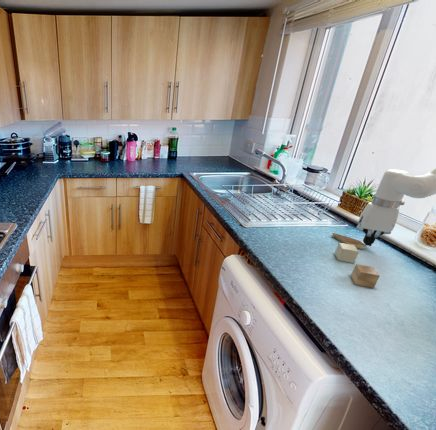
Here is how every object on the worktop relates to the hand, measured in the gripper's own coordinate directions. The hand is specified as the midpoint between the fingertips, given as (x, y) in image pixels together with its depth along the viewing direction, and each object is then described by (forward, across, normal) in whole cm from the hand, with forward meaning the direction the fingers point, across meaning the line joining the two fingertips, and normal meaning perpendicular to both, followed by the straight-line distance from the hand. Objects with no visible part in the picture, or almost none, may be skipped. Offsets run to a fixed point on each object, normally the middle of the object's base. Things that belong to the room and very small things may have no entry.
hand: (367, 244), depth 116 cm
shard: (+2, +7, 0) cm, 7 cm away
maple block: (+1, +9, +29) cm, 31 cm away
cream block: (+1, +11, +14) cm, 18 cm away
